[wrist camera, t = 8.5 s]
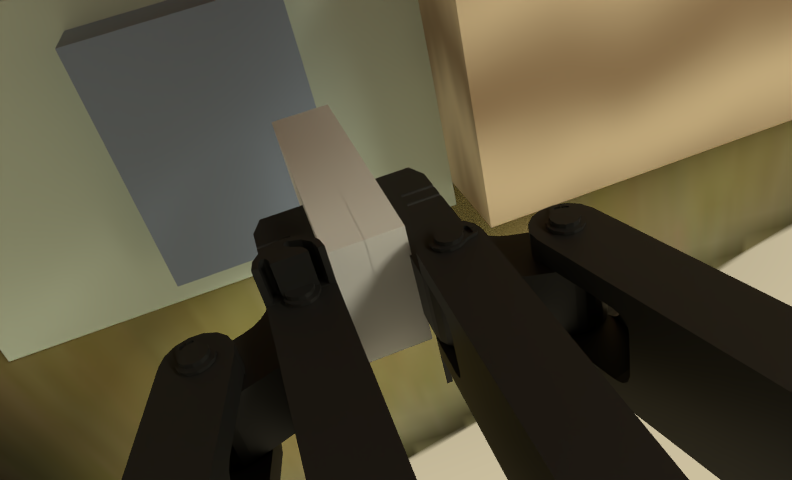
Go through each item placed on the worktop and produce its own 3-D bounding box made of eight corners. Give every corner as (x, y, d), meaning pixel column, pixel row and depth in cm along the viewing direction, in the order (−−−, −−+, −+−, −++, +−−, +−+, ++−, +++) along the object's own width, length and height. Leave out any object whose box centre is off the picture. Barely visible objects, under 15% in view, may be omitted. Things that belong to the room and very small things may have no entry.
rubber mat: (-209, 58, 18) (-216, 62, 17) (393, -111, 20) (397, -110, 20) (11, 354, 24) (9, 361, 23) (452, 199, 26) (456, 204, 26)
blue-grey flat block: (277, -18, 18) (268, -30, 20) (54, 49, 17) (64, 30, 19) (352, 224, 22) (339, 198, 24) (178, 286, 22) (176, 255, 23)
